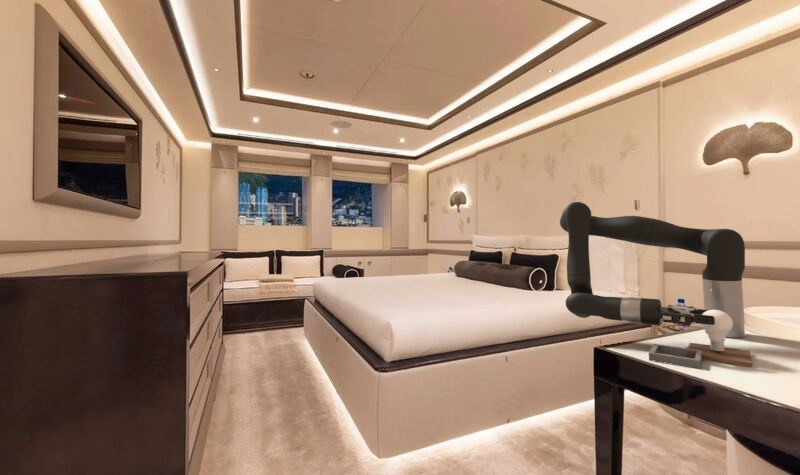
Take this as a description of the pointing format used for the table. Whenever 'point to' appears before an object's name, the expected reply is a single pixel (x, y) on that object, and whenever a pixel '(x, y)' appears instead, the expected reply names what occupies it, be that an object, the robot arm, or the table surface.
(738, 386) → the table surface
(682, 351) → the tray
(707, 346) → the coaster
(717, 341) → the lightbulb
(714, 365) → the table surface
